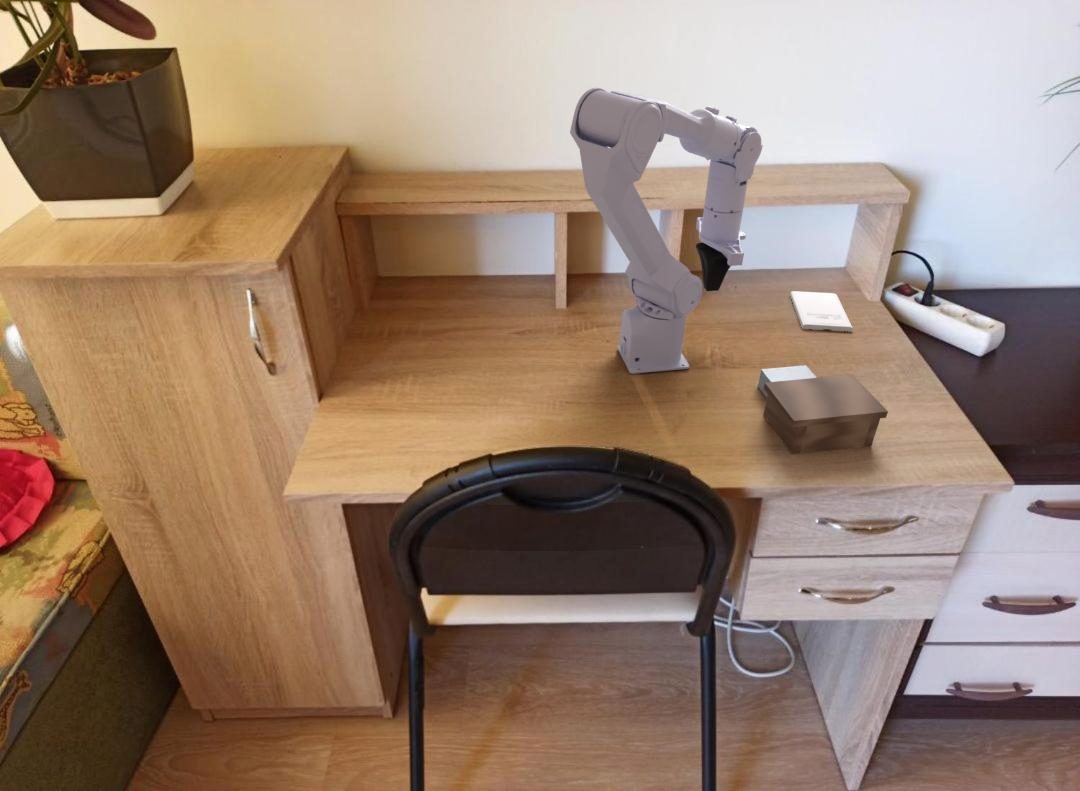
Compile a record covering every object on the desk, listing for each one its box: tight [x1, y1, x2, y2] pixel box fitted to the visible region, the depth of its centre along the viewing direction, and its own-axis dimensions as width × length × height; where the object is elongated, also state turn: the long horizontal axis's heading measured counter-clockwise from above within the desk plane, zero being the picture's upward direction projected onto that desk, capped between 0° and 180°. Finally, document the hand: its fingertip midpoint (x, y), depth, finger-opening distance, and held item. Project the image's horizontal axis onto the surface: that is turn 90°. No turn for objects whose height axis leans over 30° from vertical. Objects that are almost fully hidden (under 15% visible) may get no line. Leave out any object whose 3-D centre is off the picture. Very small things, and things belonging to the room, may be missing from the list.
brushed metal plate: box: [757, 364, 818, 399], centre depth 107 cm, size 7×14×3 cm, turn 10°
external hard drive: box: [789, 290, 853, 333], centre depth 132 cm, size 2×8×12 cm
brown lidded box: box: [763, 374, 889, 455], centre depth 102 cm, size 13×9×6 cm
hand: (711, 289), depth 121 cm, fingers closed
